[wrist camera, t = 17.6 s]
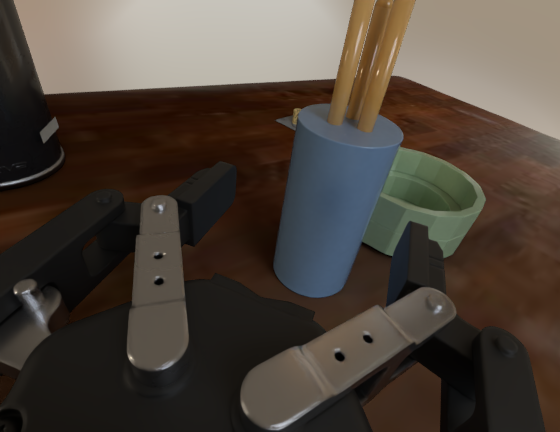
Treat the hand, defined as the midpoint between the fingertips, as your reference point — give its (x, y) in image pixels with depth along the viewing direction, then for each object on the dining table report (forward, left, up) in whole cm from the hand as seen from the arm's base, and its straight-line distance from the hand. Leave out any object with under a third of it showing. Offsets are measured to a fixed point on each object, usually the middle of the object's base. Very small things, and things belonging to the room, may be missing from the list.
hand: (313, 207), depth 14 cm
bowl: (-6, +16, -10) cm, 20 cm away
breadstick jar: (-4, +5, -10) cm, 12 cm away
